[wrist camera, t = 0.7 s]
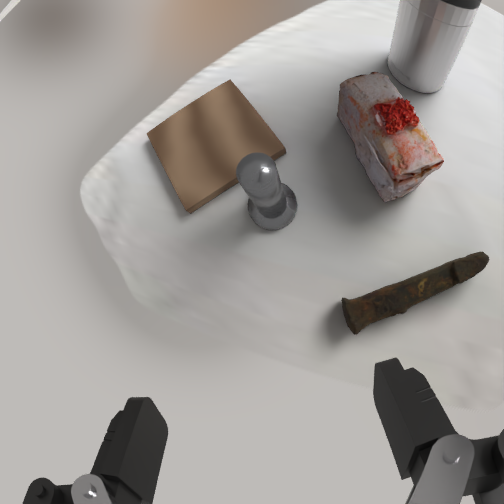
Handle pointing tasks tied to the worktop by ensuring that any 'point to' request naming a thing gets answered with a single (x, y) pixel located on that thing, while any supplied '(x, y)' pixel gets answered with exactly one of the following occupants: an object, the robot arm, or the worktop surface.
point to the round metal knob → (266, 192)
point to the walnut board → (211, 144)
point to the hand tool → (410, 291)
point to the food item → (386, 135)
